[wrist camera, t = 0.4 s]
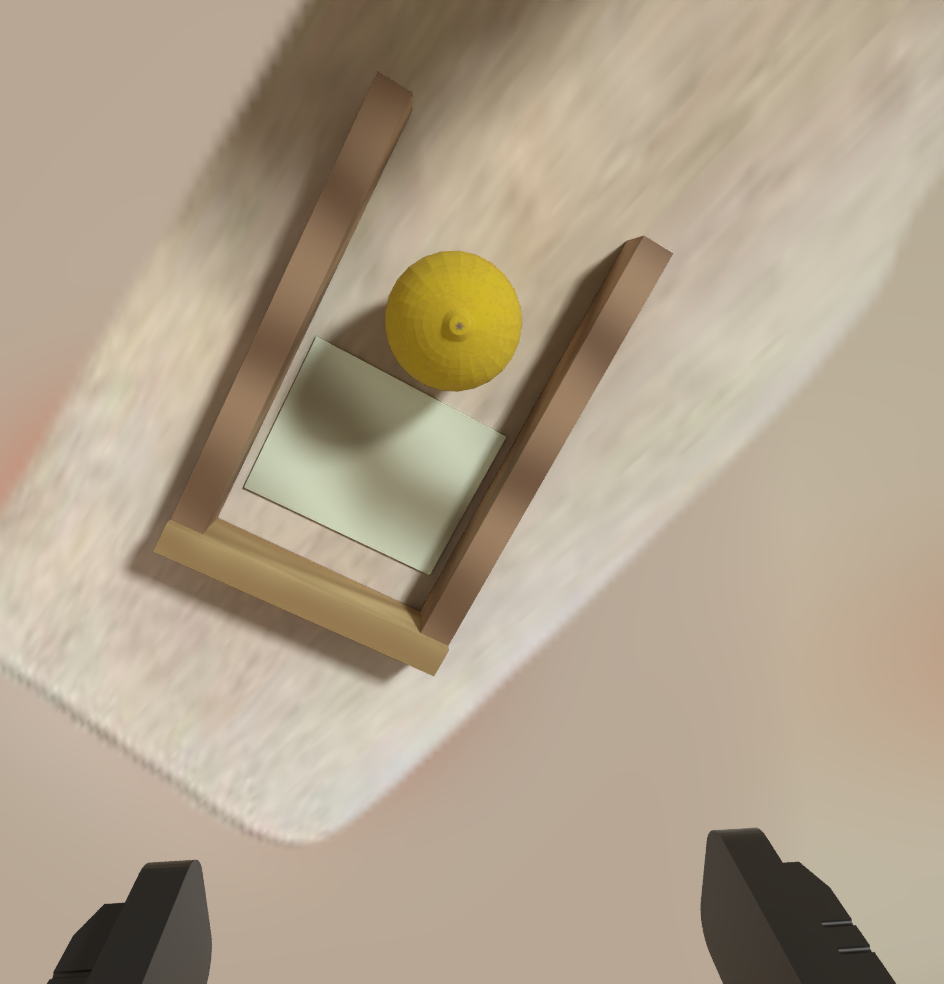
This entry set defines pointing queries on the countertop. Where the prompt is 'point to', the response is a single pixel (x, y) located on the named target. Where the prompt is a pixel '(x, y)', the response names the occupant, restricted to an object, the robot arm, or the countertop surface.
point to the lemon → (453, 321)
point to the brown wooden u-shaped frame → (380, 437)
